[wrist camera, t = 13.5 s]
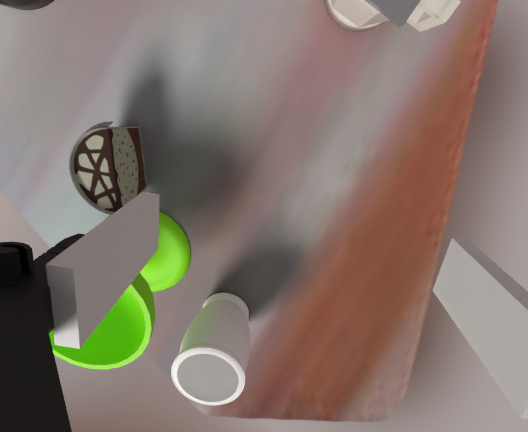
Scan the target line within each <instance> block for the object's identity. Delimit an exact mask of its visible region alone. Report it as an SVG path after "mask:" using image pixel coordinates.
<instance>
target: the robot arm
mask: <svg viewBox="0 0 528 432" xmlns="http://www.w3.org/2000/svg"><path fill="white" fill-rule="evenodd" d="M53 1H54V0H0V4H1V5H5V6H8V7H12V8H16V9H21V10H34V9H39V8H42V7H44V6H46V5H48V4H50V3H51V2H53ZM158 234H159V194H155V193H148V192H141V193H140V194H139V195H138V196H136V197H135V198H134V199H132V200H131V201H130V202H128V203H127V204H126V205H124V206H123V207H122V208H120V209H119V210H118V211H116V212H115V213H114V214H112V215H111V216H110V217H108V218H107V219H106V220H104V221H103V222H102V223H100V224H99V225H98V226H96V227H95V228H94V229H92V230H91V231H90V232H88V233H87V234H86V235H84V234H76V235H74V236H71V237H68V238H65V239H64V240H62V241H61V242H59V243H58V244H56V245H55V247H52V248H51V249H49V250H48V251H47V252H46V253H44V254H42V255H41V256H39V257H38V258H36V259H35V260H34V261H33V253H32V248H31V247H30V246H29V245H27V244H24V243H19V242H1V243H0V432H72V431H71V427H70V422H69V418H68V414H67V410H66V405H65V401H64V397H63V393H62V388H61V384H60V379H59V375H58V371H57V367H56V362H55V358H54V353H53V349H52V345H51V340H50V336H49V333H50V332H51V331H52V330H53V334H54V343H55V345H58V346H65V347H71V348H77V349H80V348H81V347H82V346H83V344H84V343H85V342H86V341H87V339H88V338H89V337H90V335H91V334H92V333H93V332H94V330H95V329H96V328H97V326H98V325H99V324H100V323H101V321H102V320H103V319H104V318H105V316H106V315H107V314H108V312H109V311H110V310H111V309H112V307H113V306H114V305H115V303H116V302H117V301H118V300H119V298H120V297H121V296H122V294H123V293H124V292H125V291H126V289H127V288H128V287H129V286H130V284H131V283H132V282H133V280H134V279H135V278H136V277H137V275H138V274H139V273H140V271H141V270H142V269H143V268H144V266H145V265H146V264H147V263H148V261H149V260H150V259H151V257H152V256H153V255H154V254H155V252H156V251H157V250H158ZM433 292H434V293H435V295H436V296H437V297H438V299H439V300H440V302H441V303H442V305H443V306H444V308H445V309H446V310H447V312H448V314H449V315H450V316H451V318H452V319H453V321H454V322H455V323H456V325H457V326H458V328H459V329H460V331H461V332H462V334H463V335H464V337H465V338H466V339H467V341H468V343H469V344H470V345H471V347H472V348H473V350H474V351H475V353H476V354H477V356H478V357H479V358H480V360H481V361H482V363H483V364H484V366H485V367H486V369H487V370H488V371H489V373H490V374H491V376H492V377H493V379H494V380H495V381H496V383H497V384H498V386H499V387H500V389H501V390H502V392H503V393H504V395H505V396H506V398H507V399H508V400H509V402H510V403H511V405H512V406H513V407H514V409H515V411H516V412H517V414H518V415H519V416H520V418H527V419H528V292H527V291H526V290H525V289H524V288H523V287H522V286H521V285H519V284H518V283H517V282H516V281H515V280H514V279H513V278H511V277H510V276H509V275H508V274H507V273H506V272H504V271H503V270H502V269H501V268H500V267H499V266H497V265H496V264H495V263H494V262H493V261H492V260H491V259H490V258H489V257H488V256H486V255H485V254H484V253H483V252H482V251H480V249H478V248H477V247H476V246H475V245H474V244H473V243H472V242H470V241H469V240H462V239H456V238H452V239H451V242H450V245H449V247H448V251H447V253H446V256H445V258H444V261H443V264H442V266H441V269H440V272H439V274H438V277H437V280H436V283H435V285H434V288H433Z"/></svg>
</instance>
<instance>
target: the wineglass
mask: <svg viewBox="0 0 528 432" xmlns="http://www.w3.org/2000/svg"><path fill="white" fill-rule="evenodd" d="M110 216H111V215H109V216H108V217H110ZM108 217H107V218H108ZM190 260H191V253H190V245H189V242H188V240H187V237H186V235H185V233H184V232H183V230H182V229H181V227H180V226H179V225H178V224H177V223H176V222H175V221H174V220H173V219H172V218H170V217H169V216H168V215H166V214H164V213H162V212H160V211H159V234H158V250H157V251H156V252H155V254H154V255H153V256H152V257H151V259H150V260H149V261H148V263H147V264H146V265H145V266H144V268H143V269H142V270H141V271H140V273H139V274H138V275H137V277H136V278H135V279H134V280H133V282H132V283H131V284H130V286H129V287H128V288H127V289H126V291H125V292H124V293H123V294H122V296H121V297H120V298H119V300H118V301H117V302H116V303H115V305H114V306H113V307H112V309H111V310H110V311H109V312H108V314H107V315H106V316H105V318H104V319H103V320H102V321H101V323H100V324H99V325H98V326H97V328H96V329H95V330H94V332H93V333H92V334H91V335H90V337H89V338H88V339H87V341H86V342H85V343H84V344H83V346H82V347H81V348H80V349H77V348H71V347H65V346H58V345H55V343H54V334H53V330H52V331H51V332H50V333H49V336H50V340H51V345H52V349H53V353H54V355H55V356H57V357H58V358H61V359H63V360H65V361H67V362H69V363H71V364H73V365H78V366H81V367H85V368H89V369H111V368H118V367H121V366H123V365H125V364H128V363H130V362H132V361H134V360H135V359H136V358H137V357H138V356H139V355H141V354H142V353H143V351H144V349H145V348H146V346H147V344H148V343H149V340H150V337H151V334H152V331H153V327H154V322H155V306H154V298H153V294H152V292H154V291H159V290H165V289H167V288H169V287H171V286H173V285H175V284H176V283H177V282H178V281H180V280H181V279H182V278H183V277H184V275H185V273H186V272H187V270H188V268H189V264H190Z"/></svg>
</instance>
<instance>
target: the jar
mask: <svg viewBox="0 0 528 432" xmlns="http://www.w3.org/2000/svg"><path fill="white" fill-rule="evenodd" d="M248 319H249V310H248V308H247V306H246V304H245V303H244V301H243V300H242V299H240V298H239V297H238V296H236V295H233V294H230V293H216V294H214V295H212V296H210V297H209V298H208V299H207V300H206V301H205V302H204V304H203V308H202V309H201V310H200V311H199V313H198V314H197V315H196V317H195V319H194V320H193V321H192V323H191V324H190V326H189V327H188V329H187V331H186V333H185V335H184V338H183V340H182V344H181V348H180V353H179V354H178V355H177V357H176V358H175V360H174V362H173V365H172V369H171V376H172V380H173V382H174V384H175V386H176V388H177V389H178V390H179V391H180V392H181V393H182V394H183V395H184V396H185V397H187V398H189V399H190V400H192V401H194V402H197V403H200V404H204V405H222V404H226V403H229V402H231V401H233V400H234V399H236V398H237V397H238V396H239V395H240V394H241V392H242V390H243V388H244V384H245V370H246V367H247V363H248V359H249V354H250V336H249V324H248Z"/></svg>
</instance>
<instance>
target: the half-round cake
mask: <svg viewBox="0 0 528 432" xmlns="http://www.w3.org/2000/svg"><path fill="white" fill-rule="evenodd" d="M112 123H113V121H111V122H104V123H100V124H97V125H95V126H93V127H91V128H90V129H88V130H87V131H86V132H84V133H83V134H82V135H81V136H80V137H79V138H78V139H77V141H76V142H75V144H74V146H73V148H72V151H71V153H70V158H69V170H70V175H71V179H72V182H73V184H74V186H75V188H76V189H77V191H78V193H79V194H80V195H81V196H82V198H83V199H84V200H85V201H86V202H87V203H88V204H90V205H91V206H93V207H94V208H96V209H97V210H99V211H101V212H104V213H106V214H110V215H112V214H114V213H115V212H116V211H118V210H119V209H120V208H122V207H123V206H124V205H126V204H127V203H128V202H130V201H131V200H132V199H134V198H135V197H136V196H138V195H139V194H140V193H141V192H144V191H145V189H146V188H147V187H148V186H147V178H146V171H145V163H144V155H143V147H142V139H141V131H140V126H127V127H109V125H110V124H112Z"/></svg>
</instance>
